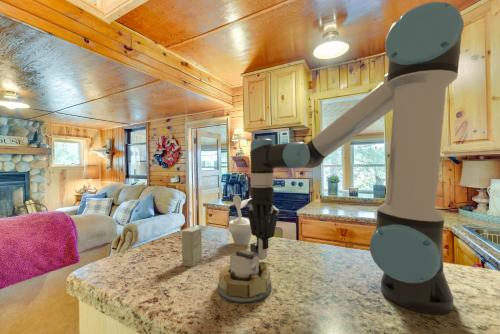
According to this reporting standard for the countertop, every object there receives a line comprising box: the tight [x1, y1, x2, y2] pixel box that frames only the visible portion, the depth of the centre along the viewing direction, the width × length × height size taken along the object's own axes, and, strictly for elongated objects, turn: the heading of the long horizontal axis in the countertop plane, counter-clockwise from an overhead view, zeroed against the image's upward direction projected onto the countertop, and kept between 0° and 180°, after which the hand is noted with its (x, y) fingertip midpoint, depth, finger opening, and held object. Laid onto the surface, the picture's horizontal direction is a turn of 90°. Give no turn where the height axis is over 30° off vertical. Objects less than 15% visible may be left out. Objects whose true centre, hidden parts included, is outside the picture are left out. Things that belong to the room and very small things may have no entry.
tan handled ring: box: [218, 242, 271, 298], centre depth 68 cm, size 21×14×7 cm, turn 166°
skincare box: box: [181, 226, 203, 268], centre depth 82 cm, size 6×4×12 cm
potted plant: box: [228, 189, 253, 247], centre depth 102 cm, size 13×12×25 cm
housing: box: [217, 250, 273, 305], centre depth 64 cm, size 15×15×10 cm
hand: (262, 258), depth 75 cm, fingers closed
